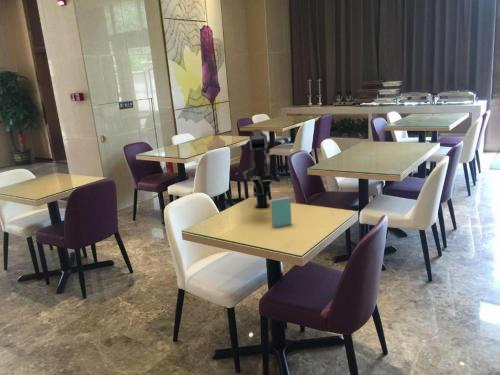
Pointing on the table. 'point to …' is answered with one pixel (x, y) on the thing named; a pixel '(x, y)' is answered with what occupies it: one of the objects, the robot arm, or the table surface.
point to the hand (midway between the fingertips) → (261, 193)
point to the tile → (280, 212)
